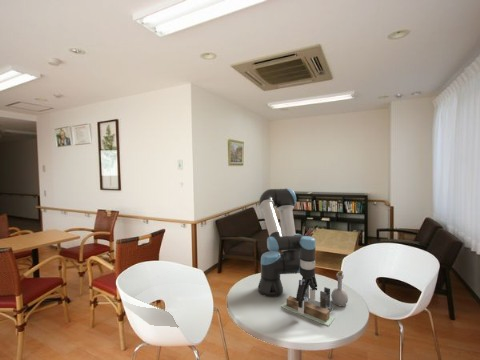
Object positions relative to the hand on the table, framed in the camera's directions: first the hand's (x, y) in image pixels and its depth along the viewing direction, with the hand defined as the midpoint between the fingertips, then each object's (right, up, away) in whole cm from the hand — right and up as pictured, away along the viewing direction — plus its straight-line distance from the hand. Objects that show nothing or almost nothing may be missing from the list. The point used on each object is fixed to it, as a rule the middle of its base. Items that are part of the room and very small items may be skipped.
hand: (306, 307), depth 132 cm
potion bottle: (+21, -2, +9) cm, 23 cm away
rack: (+6, -2, +7) cm, 9 cm away
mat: (0, -3, 0) cm, 3 cm away
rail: (0, -2, 0) cm, 2 cm away
